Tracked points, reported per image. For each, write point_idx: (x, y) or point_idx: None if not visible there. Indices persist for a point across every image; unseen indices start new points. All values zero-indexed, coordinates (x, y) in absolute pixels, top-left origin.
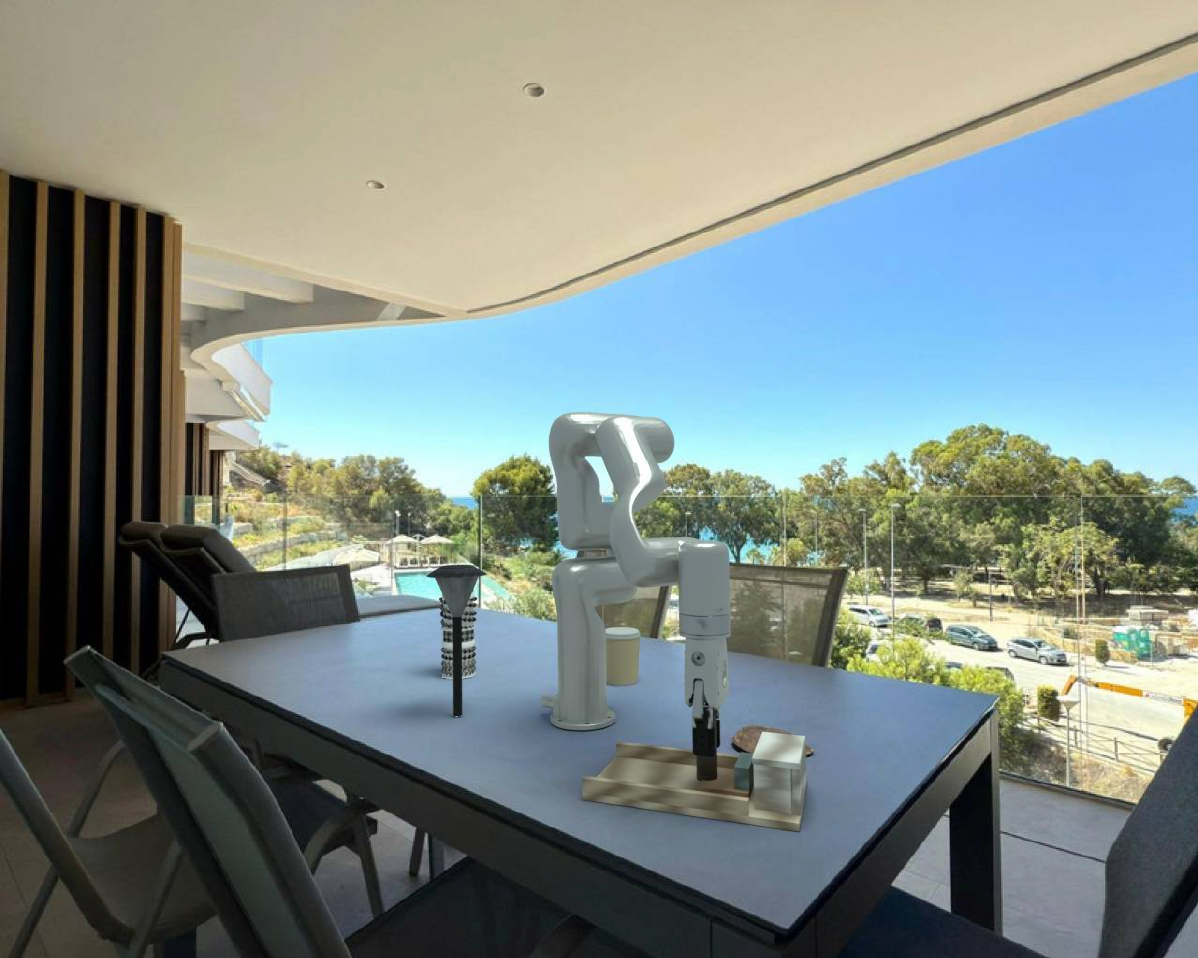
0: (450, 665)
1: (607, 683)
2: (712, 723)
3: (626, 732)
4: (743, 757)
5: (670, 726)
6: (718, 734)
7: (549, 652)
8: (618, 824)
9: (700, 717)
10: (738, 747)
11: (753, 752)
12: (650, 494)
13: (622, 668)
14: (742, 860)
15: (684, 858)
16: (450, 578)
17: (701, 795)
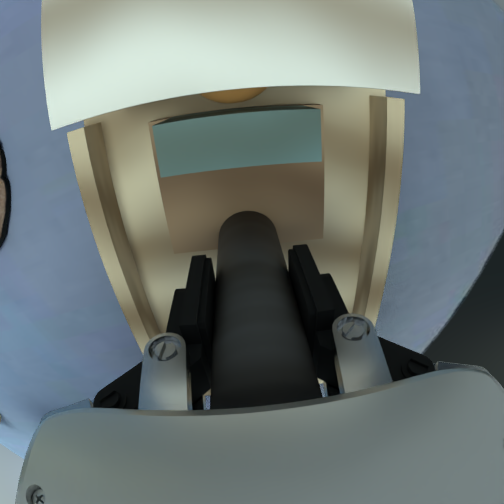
0: None
1: (1, 416)
2: (339, 335)
3: (80, 395)
4: (209, 152)
5: (16, 354)
6: (202, 284)
7: (6, 445)
8: (414, 304)
9: (485, 369)
10: (1, 234)
11: (2, 196)
12: None
13: None
14: (485, 105)
15: (490, 190)
16: None
17: (395, 214)
